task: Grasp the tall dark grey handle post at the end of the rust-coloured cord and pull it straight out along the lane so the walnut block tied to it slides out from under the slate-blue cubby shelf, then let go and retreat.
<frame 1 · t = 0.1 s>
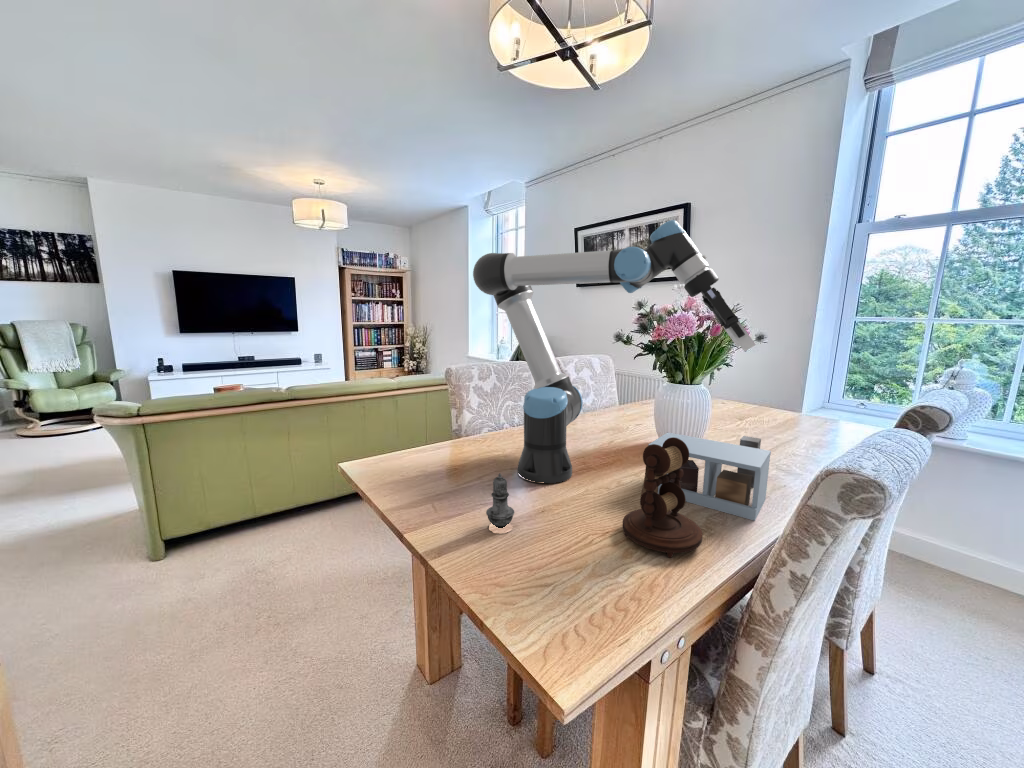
hand: (746, 346, 100), 36 cm above the table, tool tilted 35°, fingers open, 13 cm apart
box: (681, 491, 102), resting in shelf
walnut block: (732, 505, 94), on the table
thread spool stand: (660, 539, 80), on the table
salt shaker: (500, 528, 85), on the table
shelf: (711, 495, 99), on the table
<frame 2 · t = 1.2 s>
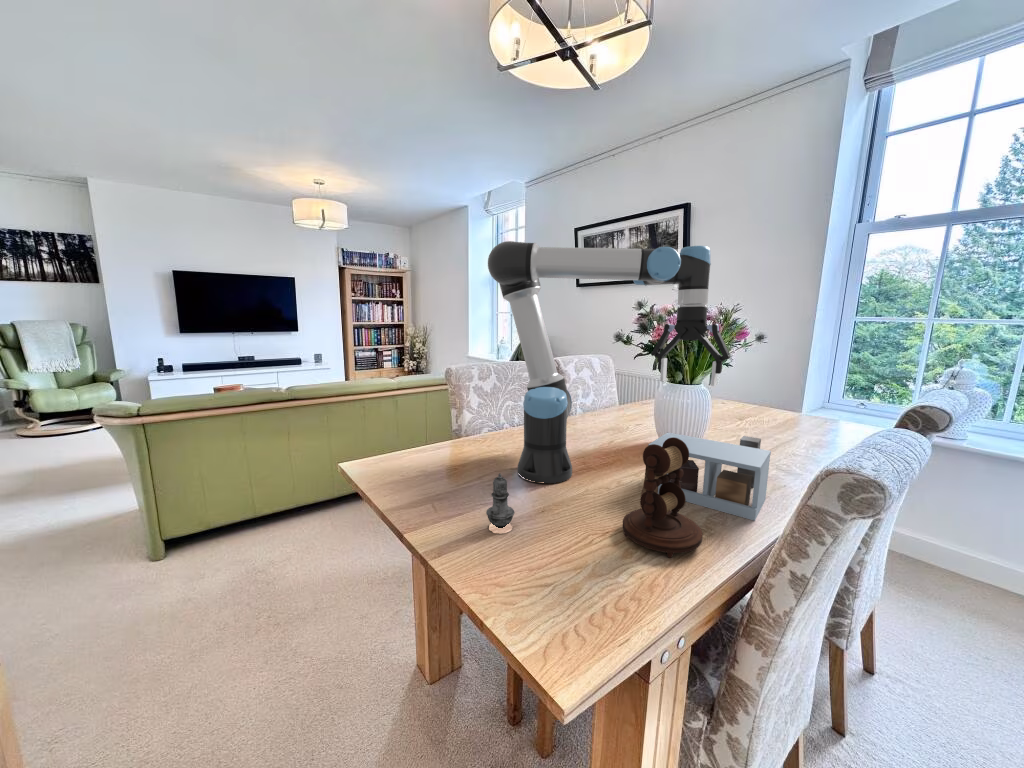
hand: (687, 383, 114), 25 cm above the table, tool pointing down, fingers open, 13 cm apart
nothing on the table moved.
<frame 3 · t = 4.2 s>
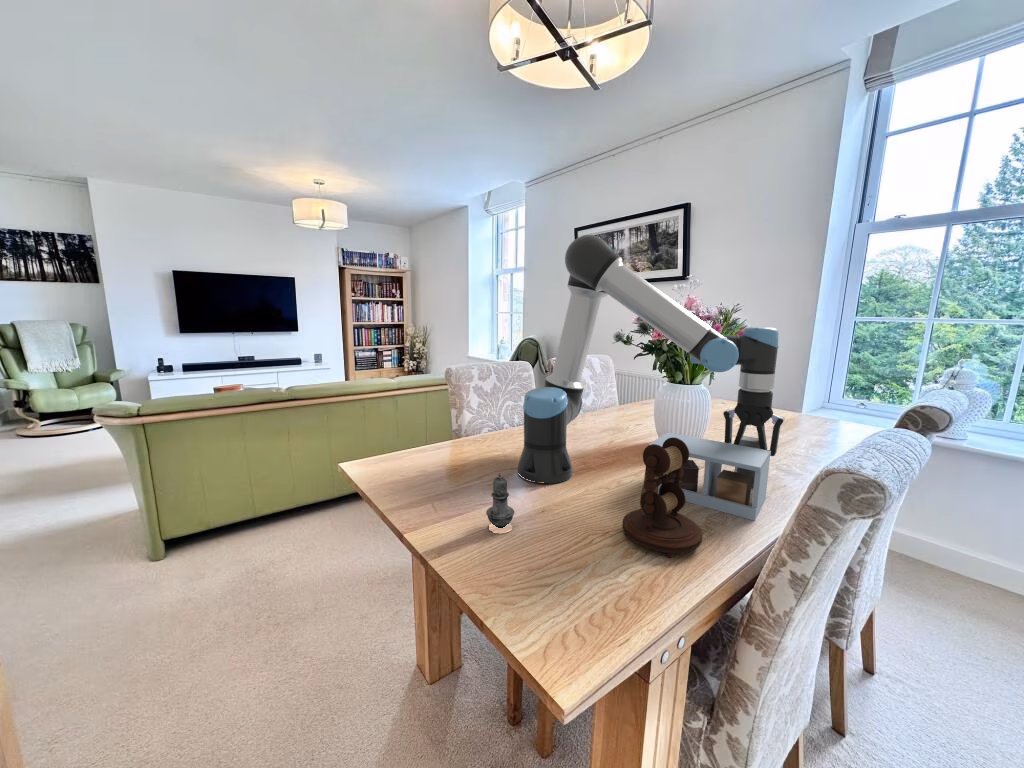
hand: (746, 477, 106), 2 cm above the table, tool pointing down, fingers closed on walnut block, 4 cm apart
walnut block: (732, 504, 94), on the table, touching gripper
everything else where it was.
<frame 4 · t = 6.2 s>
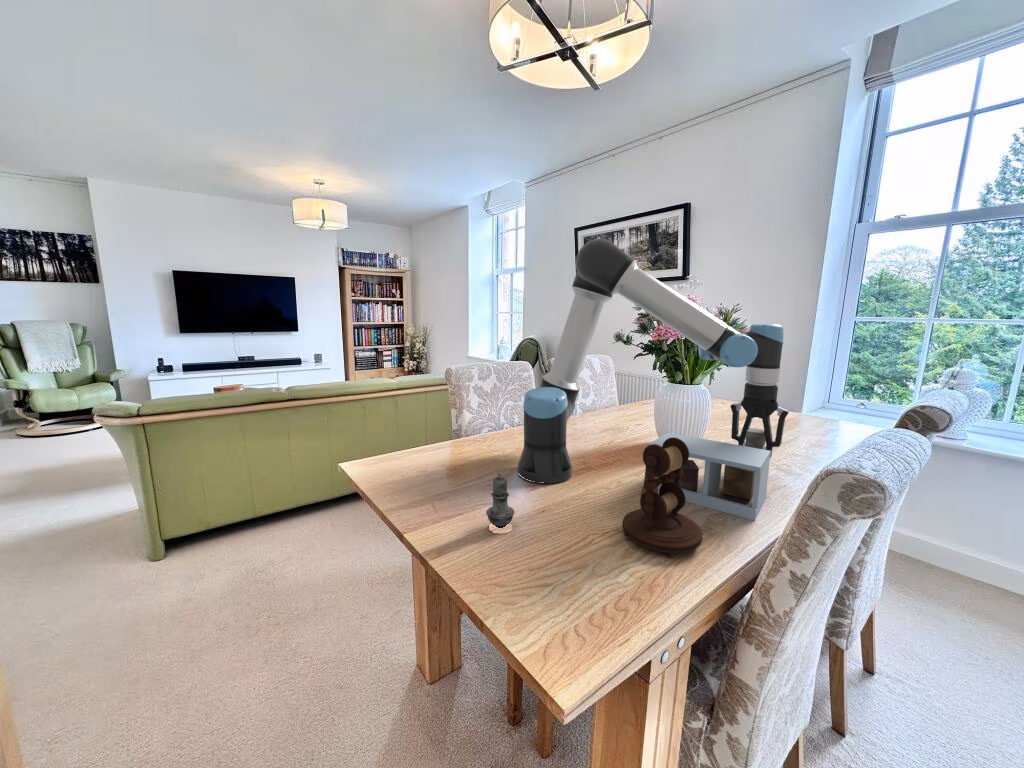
hand: (753, 467, 111), 2 cm above the table, tool pointing down, fingers closed on walnut block, 4 cm apart
walnut block: (738, 492, 99), point 1 cm above the table, touching gripper
everything else where it was.
when the fingers open (2 cm above the table, at t = 8.4 s): walnut block stays where it is, on the table.
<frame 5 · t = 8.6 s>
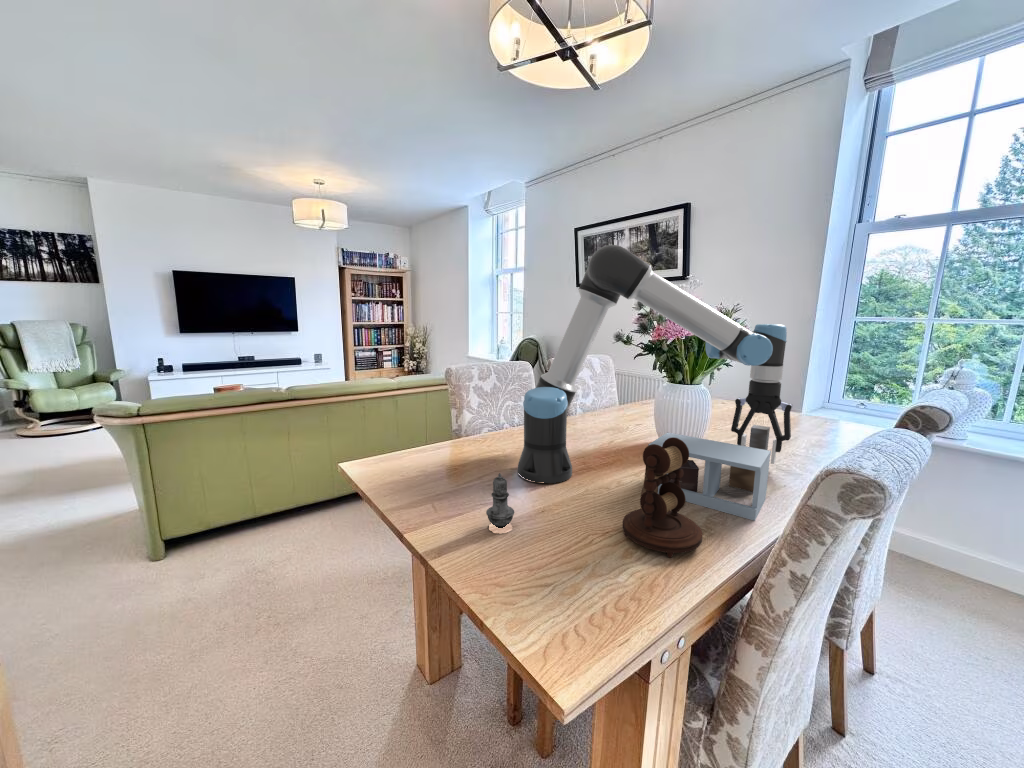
hand: (757, 459, 116), 3 cm above the table, tool pointing down, fingers open, 7 cm apart
walnut block: (744, 485, 105), on the table
everything else where it was.
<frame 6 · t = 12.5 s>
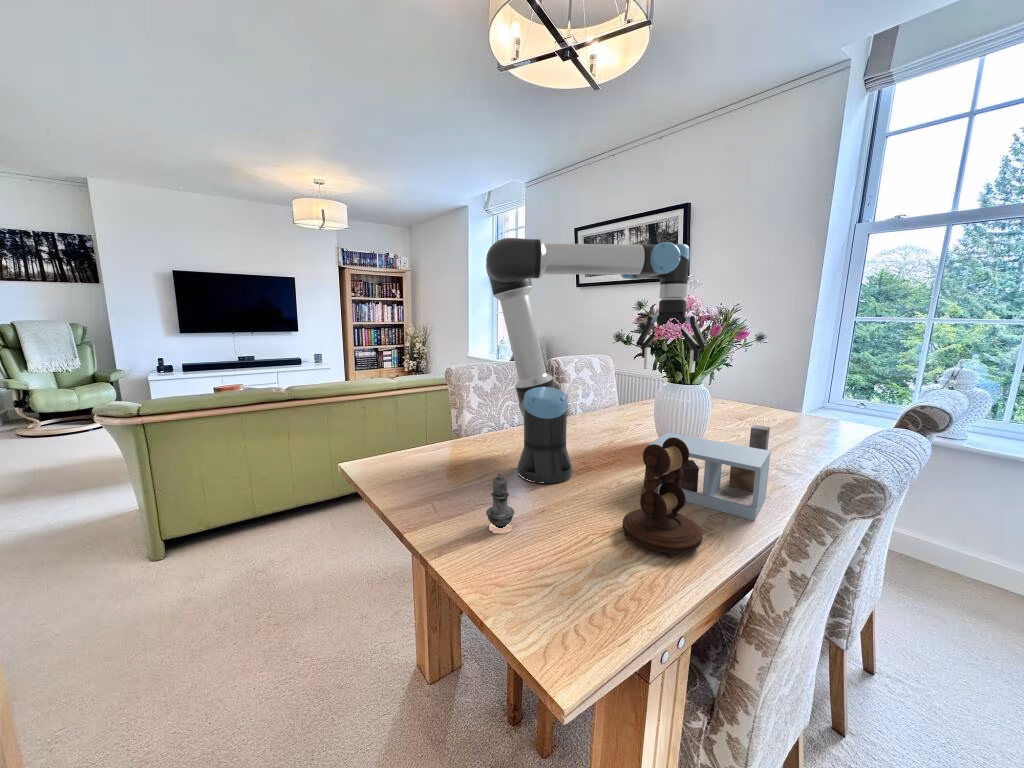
hand: (668, 370, 124), 27 cm above the table, tool pointing down, fingers open, 13 cm apart
nothing on the table moved.
at the end: walnut block inside the target area (1.1 cm from its centre), on the table; walnut block touching table; the gripper is holding nothing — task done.
